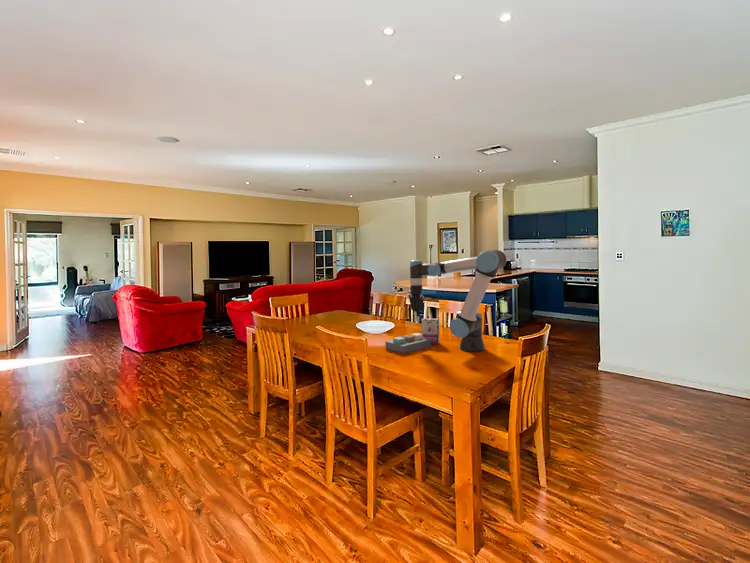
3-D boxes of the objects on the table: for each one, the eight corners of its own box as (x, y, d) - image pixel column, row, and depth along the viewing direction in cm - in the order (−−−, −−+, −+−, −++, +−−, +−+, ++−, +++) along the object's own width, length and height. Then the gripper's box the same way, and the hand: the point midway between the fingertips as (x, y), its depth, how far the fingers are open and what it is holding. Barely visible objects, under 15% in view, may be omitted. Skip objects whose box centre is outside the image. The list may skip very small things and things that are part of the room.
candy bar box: (439, 342, 267) (439, 318, 265) (438, 344, 262) (437, 319, 261) (423, 341, 271) (422, 317, 269) (421, 343, 266) (421, 319, 264)
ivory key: (422, 341, 259) (422, 334, 259) (416, 342, 256) (416, 335, 256) (416, 339, 264) (416, 332, 263) (410, 341, 260) (410, 334, 260)
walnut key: (414, 343, 255) (414, 336, 254) (408, 344, 251) (408, 337, 251) (408, 341, 259) (408, 334, 259) (402, 343, 256) (402, 336, 255)
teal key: (405, 345, 250) (405, 338, 250) (399, 346, 247) (399, 339, 246) (399, 343, 254) (399, 336, 254) (393, 345, 251) (393, 338, 251)
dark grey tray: (430, 347, 257) (430, 339, 256) (402, 354, 242) (402, 346, 241) (413, 342, 269) (413, 335, 269) (385, 349, 254) (385, 341, 254)
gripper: (427, 284, 253) (428, 321, 256) (413, 283, 264) (413, 319, 266) (419, 285, 249) (419, 323, 251) (404, 284, 259) (405, 320, 261)
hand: (416, 321), depth 258 cm, fingers closed
